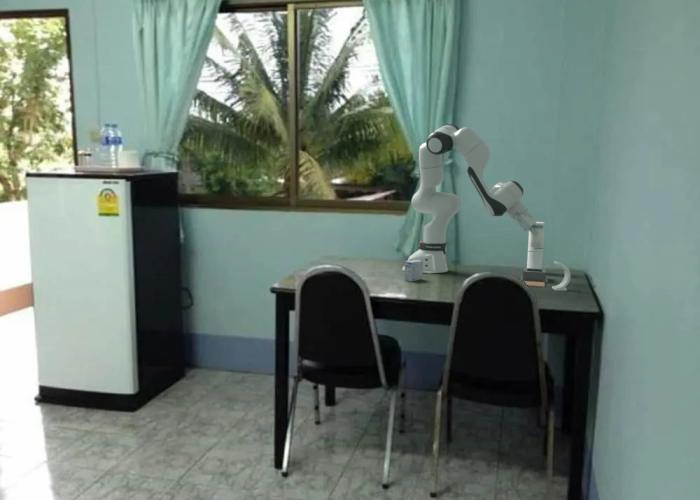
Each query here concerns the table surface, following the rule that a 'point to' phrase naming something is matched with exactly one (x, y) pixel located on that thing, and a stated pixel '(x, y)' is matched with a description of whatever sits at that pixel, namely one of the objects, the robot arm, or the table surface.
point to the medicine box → (413, 270)
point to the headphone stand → (565, 281)
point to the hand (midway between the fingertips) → (538, 234)
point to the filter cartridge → (537, 240)
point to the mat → (535, 284)
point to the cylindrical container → (535, 252)
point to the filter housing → (534, 275)
